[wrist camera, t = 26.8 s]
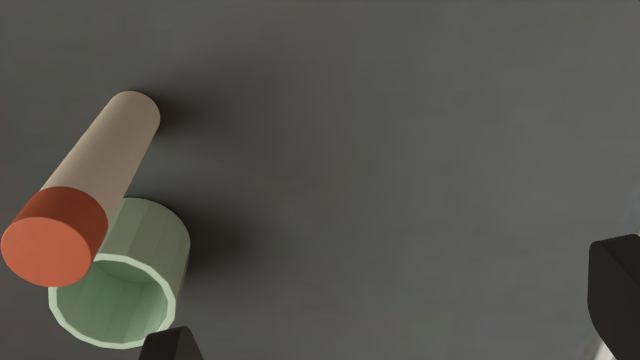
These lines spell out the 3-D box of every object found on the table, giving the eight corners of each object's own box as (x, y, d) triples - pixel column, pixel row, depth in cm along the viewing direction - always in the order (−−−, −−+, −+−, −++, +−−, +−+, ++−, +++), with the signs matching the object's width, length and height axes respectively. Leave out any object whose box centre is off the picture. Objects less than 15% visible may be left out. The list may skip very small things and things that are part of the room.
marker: (94, 109, 42) (-20, 246, 26) (135, 78, 41) (44, 201, 25) (132, 149, 43) (48, 300, 28) (173, 121, 42) (110, 260, 27)
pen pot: (59, 233, 47) (20, 294, 40) (140, 178, 45) (114, 232, 38) (135, 299, 51) (111, 365, 44) (212, 251, 49) (200, 312, 42)
